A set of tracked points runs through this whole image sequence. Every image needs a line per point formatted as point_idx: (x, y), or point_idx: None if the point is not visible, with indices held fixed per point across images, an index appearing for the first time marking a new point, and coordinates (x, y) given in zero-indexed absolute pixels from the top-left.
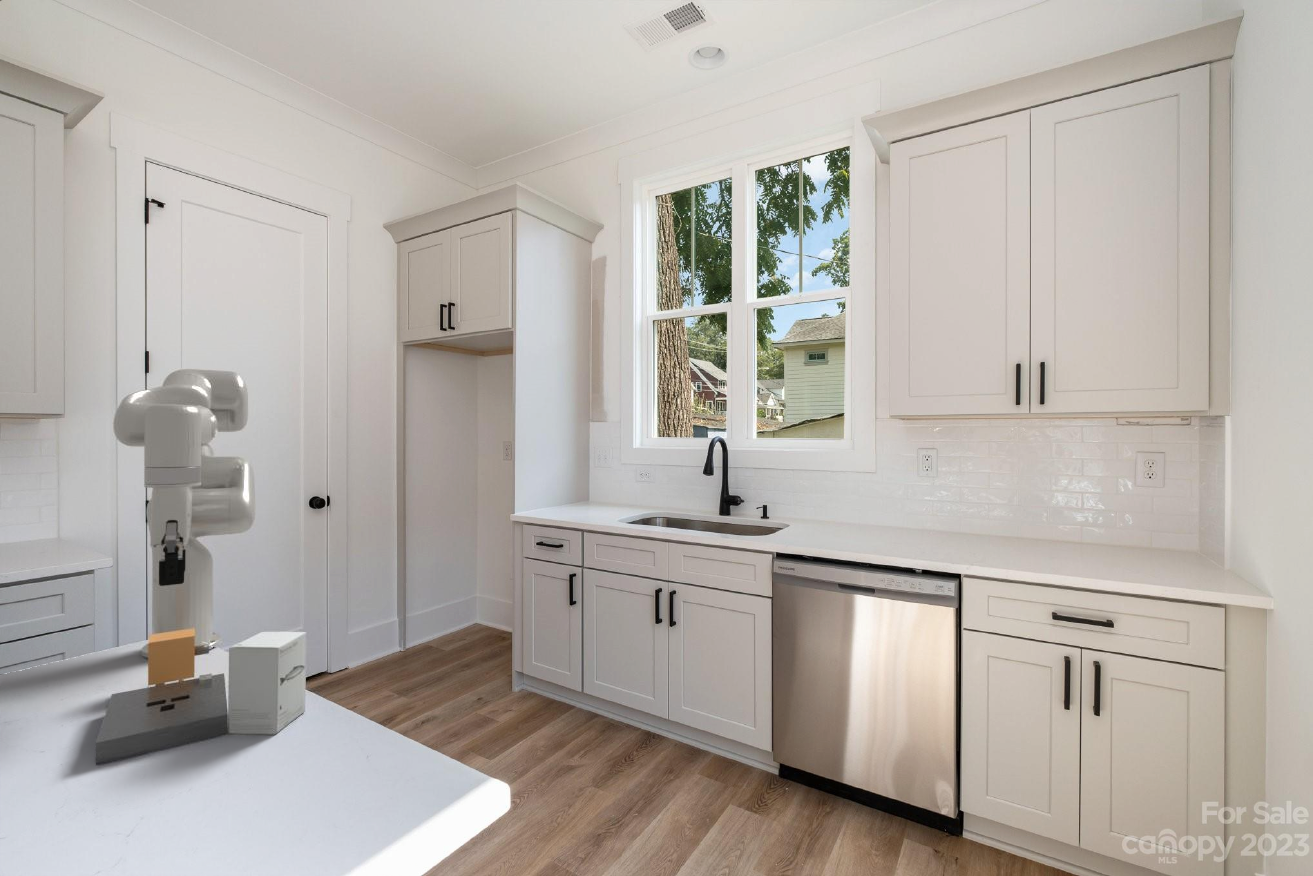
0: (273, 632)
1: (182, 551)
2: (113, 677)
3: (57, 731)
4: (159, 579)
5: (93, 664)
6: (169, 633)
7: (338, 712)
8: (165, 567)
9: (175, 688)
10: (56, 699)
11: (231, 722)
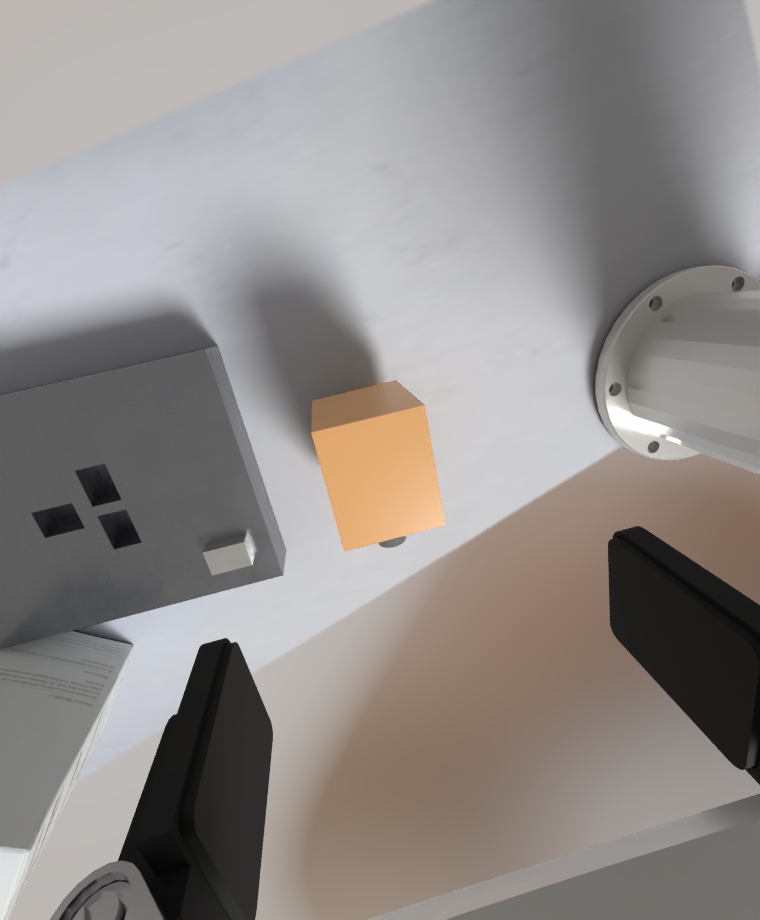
0: (2, 884)
1: (743, 760)
2: (512, 252)
3: (131, 248)
4: (193, 677)
5: (669, 147)
6: (409, 465)
7: (93, 765)
8: (137, 819)
9: (201, 497)
10: (387, 148)
11: None
